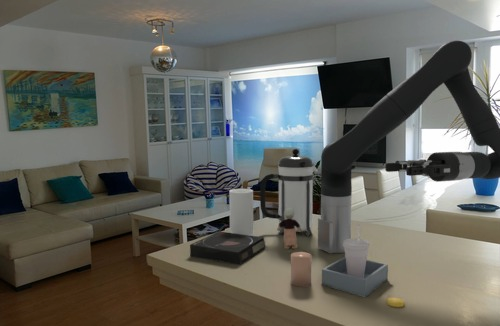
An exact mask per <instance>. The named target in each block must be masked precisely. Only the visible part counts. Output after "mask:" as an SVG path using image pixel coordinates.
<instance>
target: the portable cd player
mask: <svg viewBox="0 0 500 326" xmlns="http://www.w3.org/2000/svg"><path fill="white" fill-rule="evenodd" d="M189 247H190V248H189V250H190V251H189V252H190V257H193V258H197V259H203V260H209V261H215V262H221V263H226V264H233V265H238V266H239V265H242V264H243V263H244V262H246V261H248V260H249V259H251V258H252V257H253V256H255V255H256V254H258V253H260V252H261V251H263V250H264V249H265V248H266V241H265V238H264V237H263V236H257V235H256V236H255V235H253V236H249V235H242V234H235V233H230V232H225V231H216V232H215V233H212V234H211V235H208V236H207V237H204V238H202V239H199V240H198V241H195V242H194V243H193V242H192V243H190V244H189Z"/></svg>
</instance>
